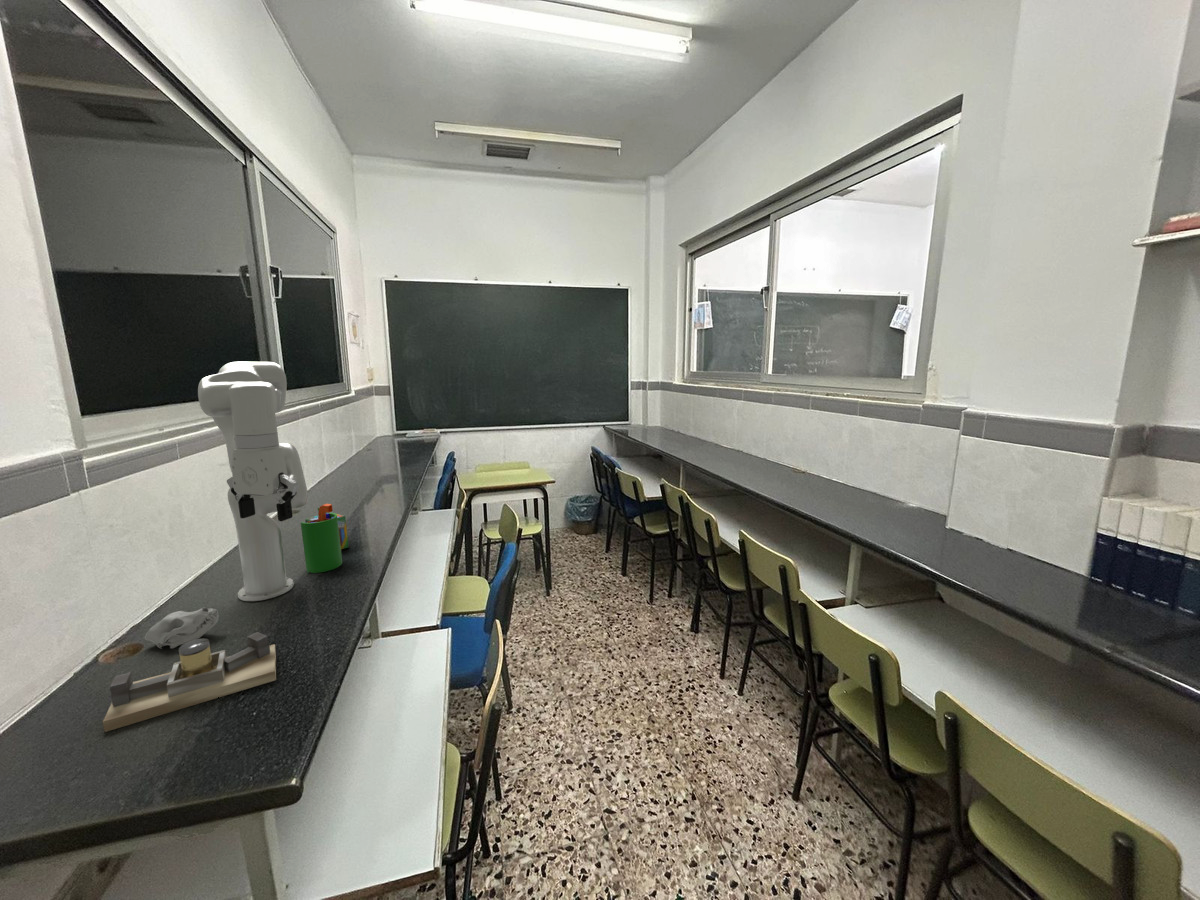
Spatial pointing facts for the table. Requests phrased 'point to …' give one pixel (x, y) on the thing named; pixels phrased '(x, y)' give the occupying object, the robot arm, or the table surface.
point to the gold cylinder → (195, 657)
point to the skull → (182, 627)
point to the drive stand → (190, 684)
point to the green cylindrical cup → (322, 541)
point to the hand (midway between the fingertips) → (266, 518)
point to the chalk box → (341, 527)
